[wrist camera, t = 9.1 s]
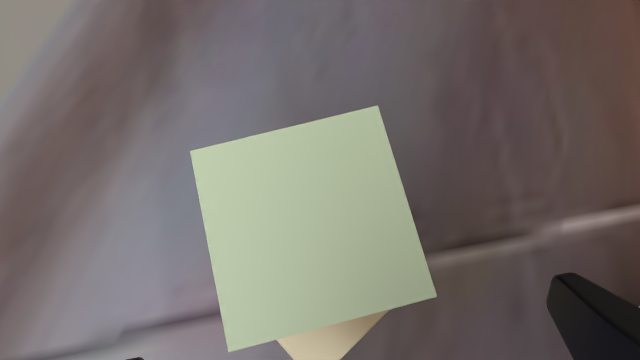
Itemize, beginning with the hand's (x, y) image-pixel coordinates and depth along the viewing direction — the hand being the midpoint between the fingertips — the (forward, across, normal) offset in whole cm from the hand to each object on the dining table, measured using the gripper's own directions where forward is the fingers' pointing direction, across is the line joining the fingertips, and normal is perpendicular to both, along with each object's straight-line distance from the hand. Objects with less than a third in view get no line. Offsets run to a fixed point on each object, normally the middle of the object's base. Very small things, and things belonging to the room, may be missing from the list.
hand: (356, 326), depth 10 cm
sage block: (+9, 0, +6) cm, 11 cm away
